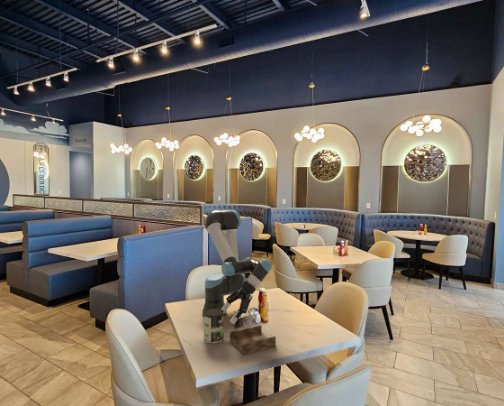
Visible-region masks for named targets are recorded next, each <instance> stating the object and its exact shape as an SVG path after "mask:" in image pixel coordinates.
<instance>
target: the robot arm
mask: <svg viewBox="0 0 504 406" xmlns="http://www.w3.org/2000/svg"><path fill="white" fill-rule="evenodd" d="M204 221H205V222H204V228H205V230H206V232H207V233H208V234H209V236H211V239H212V242H213V244H214V245H215V248H216V250H217V253H218V254H219V257H220V259H221V261H222V263H221V273H222V274H221V273H219V274H211V275H208V276H207V277H206V278H205V280H204V305H203V308H202V309H201V312H202V313H201V314H203V315H204V311H205V310H207V309H211V308H218V309H222V310H223V311H224V313H223V317H224V316H226V315H227V310H228V309H229V308H230V307H231V305H232V304H233V303H234V302H236V301H237V300H240V303H239V308H238V309H237V310H236V312H235V313H234V315H233V316H232V317H231V318H230V320H229V322H230V323H231V324H232V325H235V324H236V322H237V321H238V319H240V317H241V316H242V315H243V314H244V315H246V314H247V311H248V309H249V306H250V304H251V301H252V300H253V297H254V296H253V294H255V292H256V290H257V289H258V288H259V286H260V285H261V284H262V282H263V281H264V280H265V278H266V277H267V276H268V274H269V273H270V271H271V269H273V266H272V264H271V263H270V261H269V260H267V259H265V258H261V259H260V260H257V259H255V258H253V257H249V256H248V257H245V258H244V259H241V260H239V254H238V252H239V251H238V250H239V249H238V239H237V231H238V230H239V227H240V226H241V221H242V218H241V215H240V214H239V212H238V211H237V210H235V209H225V210H224V209H223V210H219V209H216V210H215V209H214V210H212V211H210V213H208V214H207V216H206V218H205V220H204ZM248 273H250V274H249V275H248V277H246V275H245V274H248ZM227 295H228V296H227ZM225 296H227V297H226V298H224V297H225ZM224 299H225V300H226V302H225V300H224ZM203 315H202V316H203Z"/></svg>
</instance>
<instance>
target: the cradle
mask: <svg viewBox="0 0 504 406" xmlns="http://www.w3.org/2000/svg"><path fill="white" fill-rule="evenodd" d="M262 328H263V327H262V325H261V324H258V325H253V326H250V327H245V328H240V329H238V330H237V329H236V330H232V331H229V341H230V342H231V344H232V345H233V346H234V347H235V348H236V350H238V352H239V353H240V354H241V355H242V356H245V355H250V354H252V353H253V354H254V353H257V352H259V351H263V350H264V351H265V350H267V349H270V348H274V347H276V345H277V341H276V338H277V337H276V336H269V337H268V336H267V335H266V334H264V332H262V330H263V329H262Z"/></svg>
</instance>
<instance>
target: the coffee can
mask: <svg viewBox="0 0 504 406" xmlns="http://www.w3.org/2000/svg"><path fill="white" fill-rule="evenodd" d="M223 313H224V311H223V310H222V309H218V308H211V309H207V310H205V311H204V316H203V341H204V342H205V343H207V344H218V343H219V344H220V343H221V342H222V341H224V339H225V338H224V316H223Z"/></svg>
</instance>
